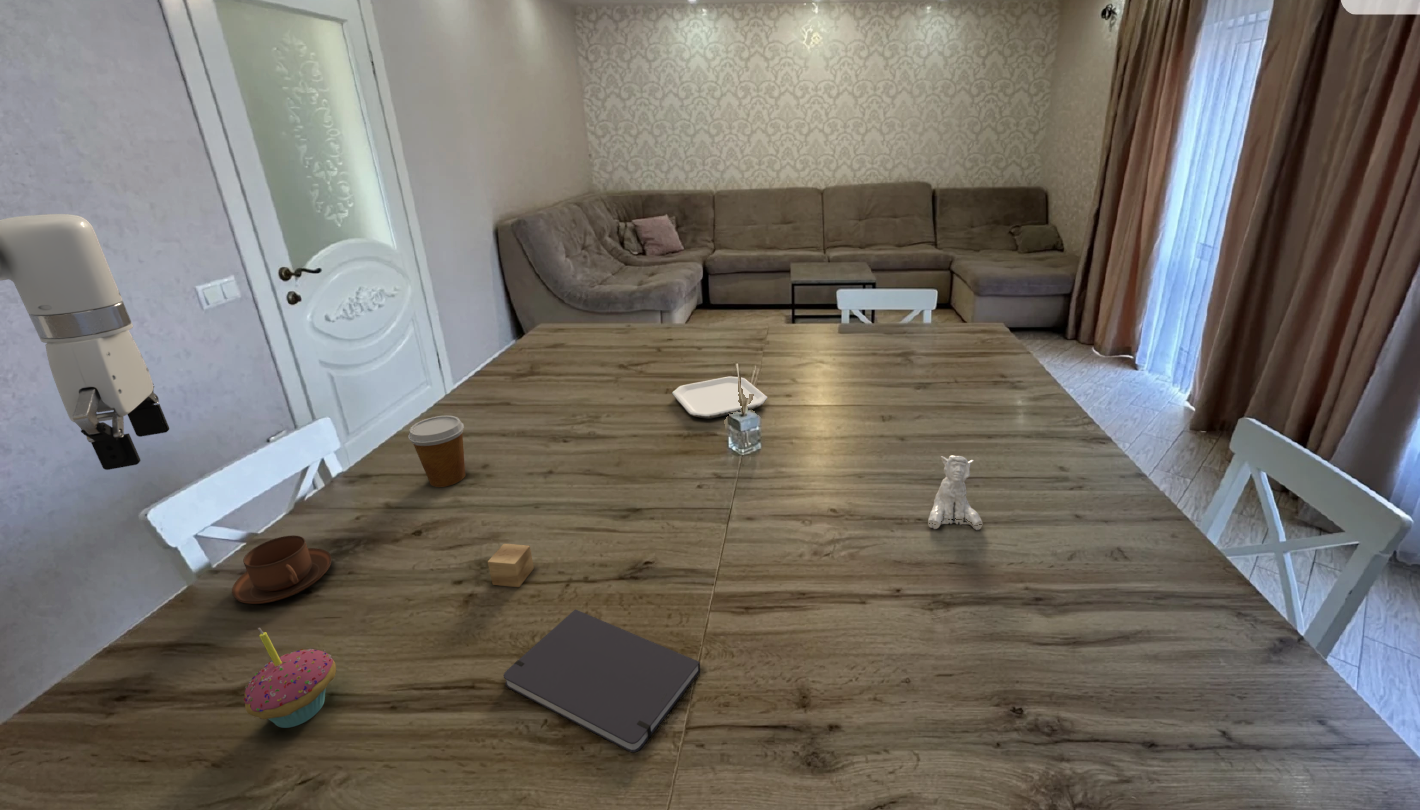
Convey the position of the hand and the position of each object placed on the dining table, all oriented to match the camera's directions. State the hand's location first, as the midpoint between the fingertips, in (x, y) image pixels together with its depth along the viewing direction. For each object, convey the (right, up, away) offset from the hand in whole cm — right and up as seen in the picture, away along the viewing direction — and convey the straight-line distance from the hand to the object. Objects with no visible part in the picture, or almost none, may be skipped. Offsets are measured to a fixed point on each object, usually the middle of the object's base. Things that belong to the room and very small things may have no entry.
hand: (139, 449), depth 79 cm
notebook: (+60, -29, -1) cm, 67 cm away
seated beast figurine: (+113, -17, +32) cm, 118 cm away
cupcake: (+25, -31, -5) cm, 40 cm away
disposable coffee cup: (+15, -12, +44) cm, 48 cm away
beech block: (+40, -22, +17) cm, 49 cm away
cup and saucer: (+6, -23, +16) cm, 29 cm away
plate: (+65, +1, +79) cm, 102 cm away
